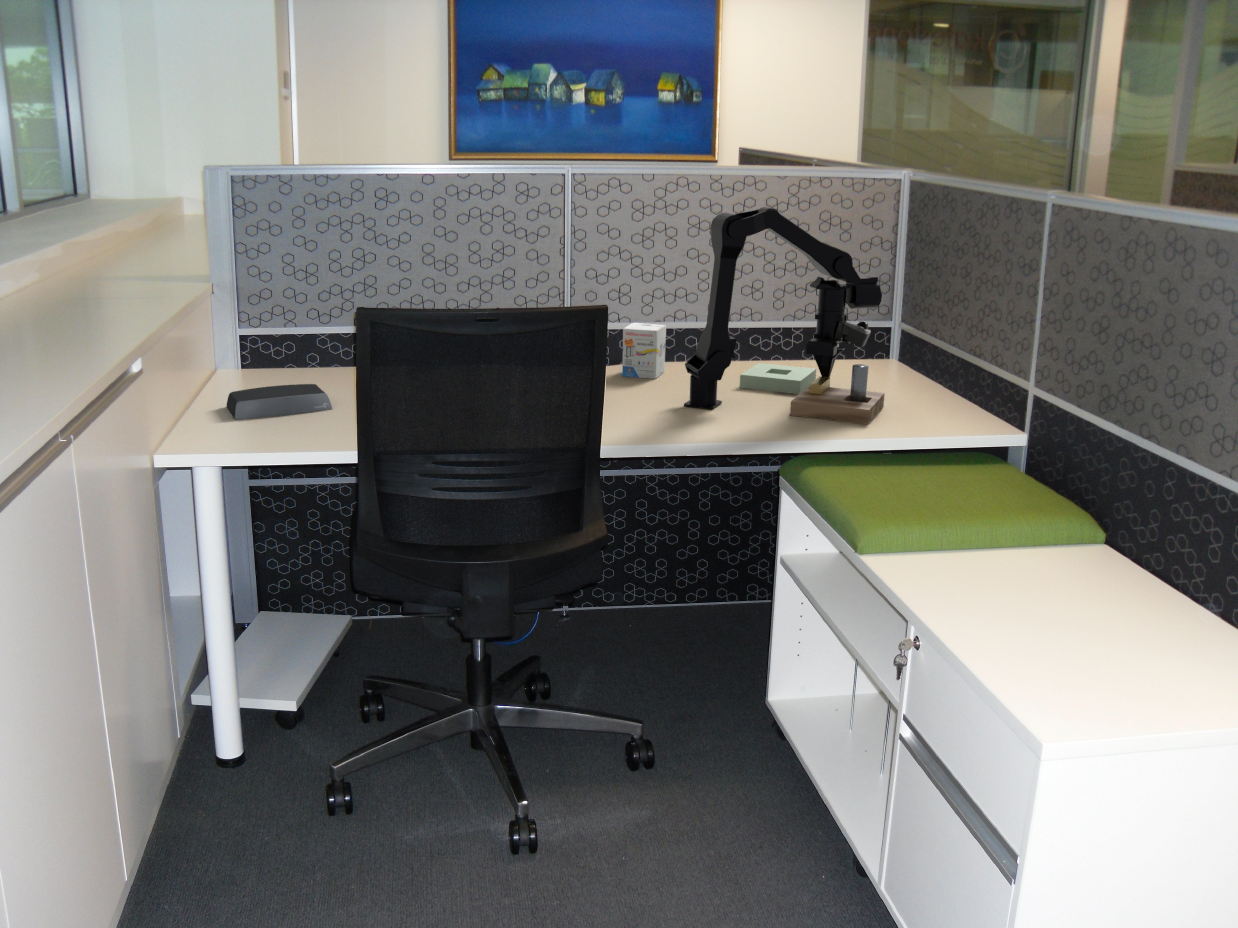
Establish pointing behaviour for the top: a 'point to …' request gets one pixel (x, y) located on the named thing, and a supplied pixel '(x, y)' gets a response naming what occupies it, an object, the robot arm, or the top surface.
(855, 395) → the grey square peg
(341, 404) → the top surface
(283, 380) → the top surface
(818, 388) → the yellow wooden bar
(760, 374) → the green slotted base
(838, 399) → the socket block
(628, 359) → the ink box
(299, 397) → the external hard drive
